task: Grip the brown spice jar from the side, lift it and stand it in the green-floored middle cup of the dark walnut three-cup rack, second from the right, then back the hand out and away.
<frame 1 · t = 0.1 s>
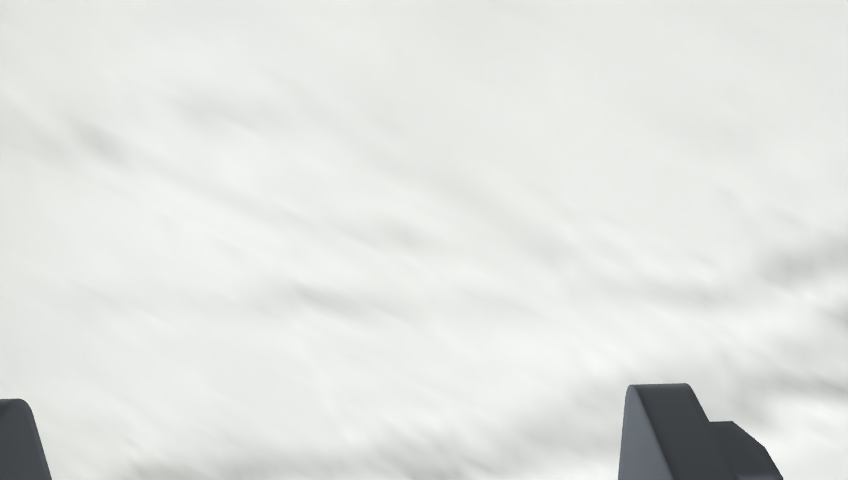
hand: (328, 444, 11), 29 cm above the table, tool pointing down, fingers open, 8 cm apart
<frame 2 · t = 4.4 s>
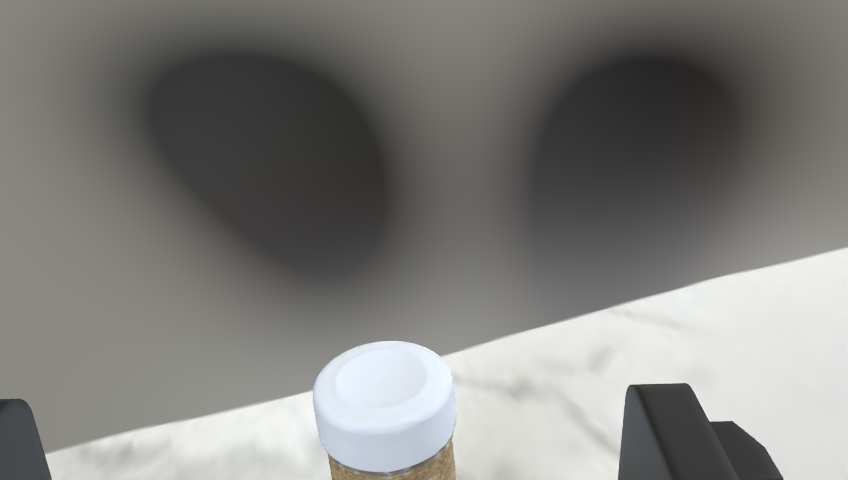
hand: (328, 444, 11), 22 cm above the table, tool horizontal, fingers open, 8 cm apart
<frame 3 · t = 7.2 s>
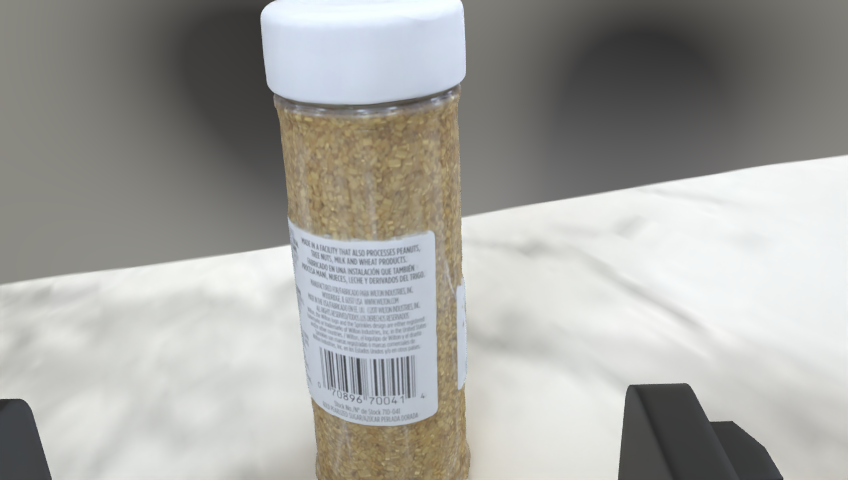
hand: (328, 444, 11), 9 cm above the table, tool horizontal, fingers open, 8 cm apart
brown spice jar: (392, 476, 23), on the table
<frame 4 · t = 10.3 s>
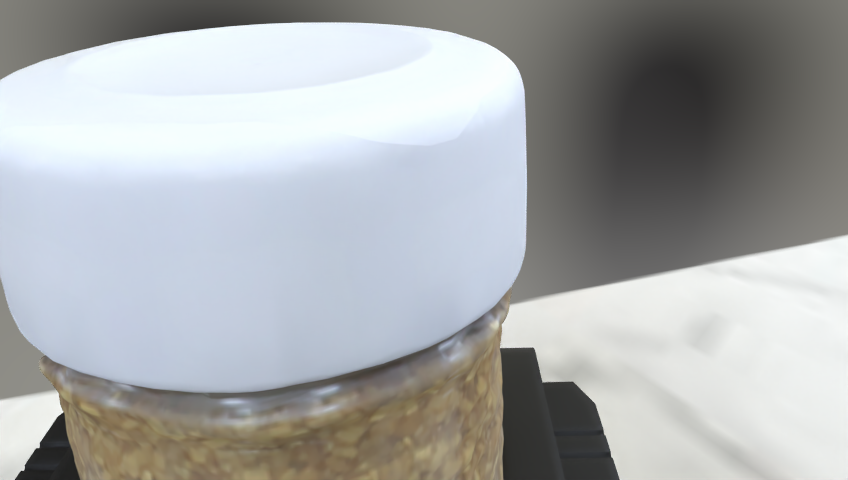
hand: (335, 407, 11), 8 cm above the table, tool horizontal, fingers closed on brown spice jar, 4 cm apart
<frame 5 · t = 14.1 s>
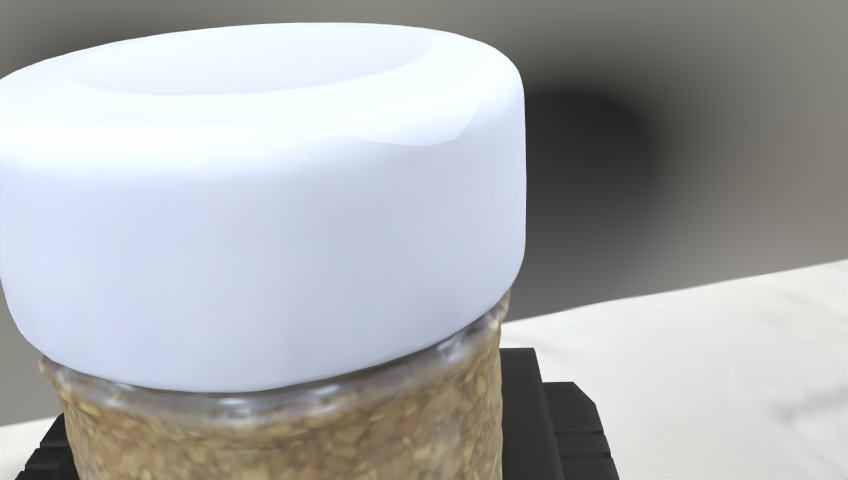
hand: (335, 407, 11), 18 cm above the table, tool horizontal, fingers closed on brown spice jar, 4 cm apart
when the fingers open (9 cm above the table, at t = 18.0 s): brown spice jar stays where it is, resting on rack.
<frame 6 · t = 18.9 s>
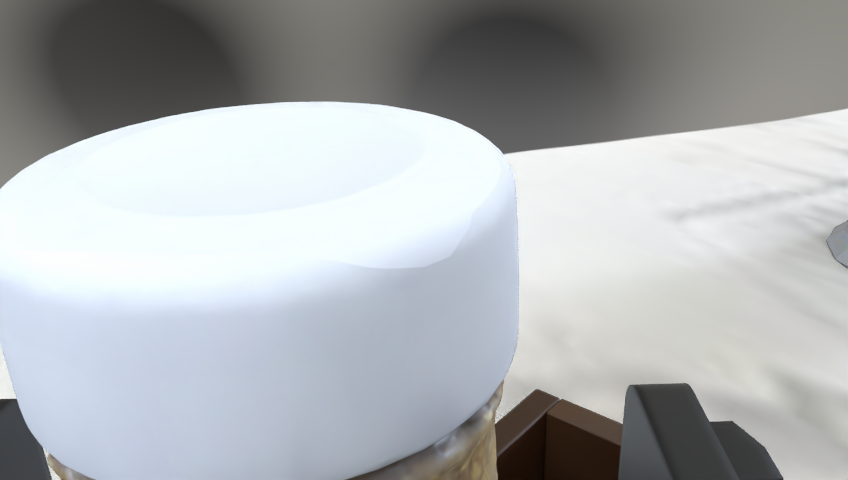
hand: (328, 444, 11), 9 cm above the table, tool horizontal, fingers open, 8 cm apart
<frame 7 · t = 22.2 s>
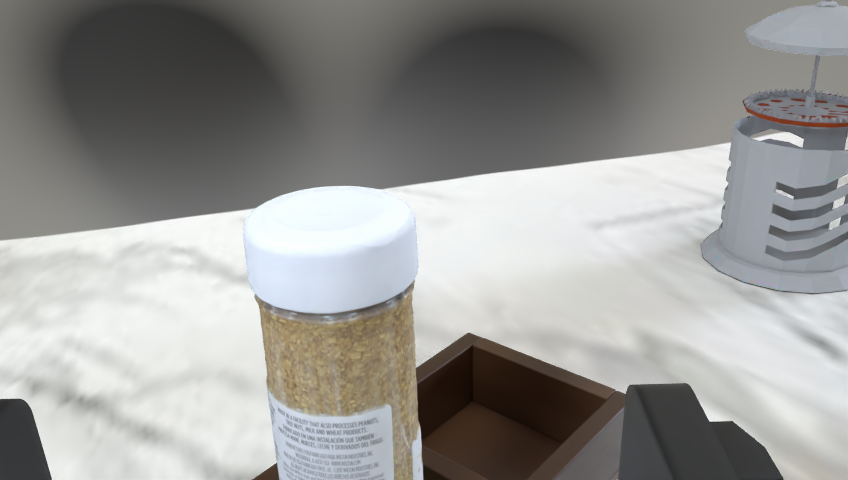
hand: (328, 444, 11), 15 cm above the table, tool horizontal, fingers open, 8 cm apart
french press: (793, 257, 50), on the table
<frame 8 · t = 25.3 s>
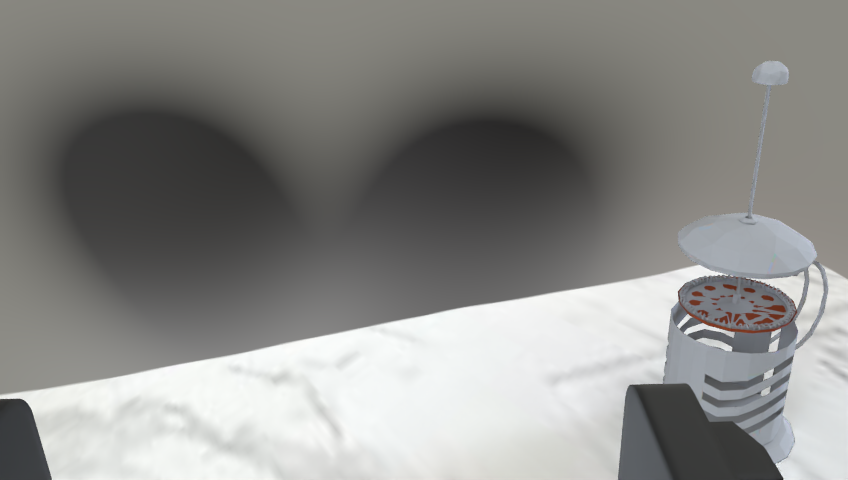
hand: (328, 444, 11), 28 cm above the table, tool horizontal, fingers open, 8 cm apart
french press: (727, 422, 55), on the table
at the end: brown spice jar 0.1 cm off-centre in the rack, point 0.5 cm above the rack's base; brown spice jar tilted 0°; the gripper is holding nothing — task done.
